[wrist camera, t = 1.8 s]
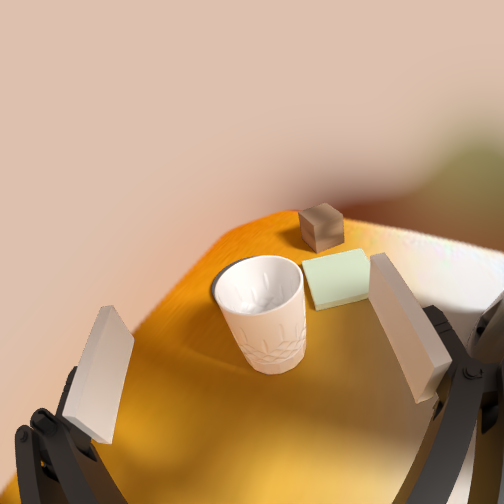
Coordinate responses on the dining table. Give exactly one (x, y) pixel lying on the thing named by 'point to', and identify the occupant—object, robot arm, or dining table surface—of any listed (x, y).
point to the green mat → (338, 278)
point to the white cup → (265, 311)
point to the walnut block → (321, 227)
